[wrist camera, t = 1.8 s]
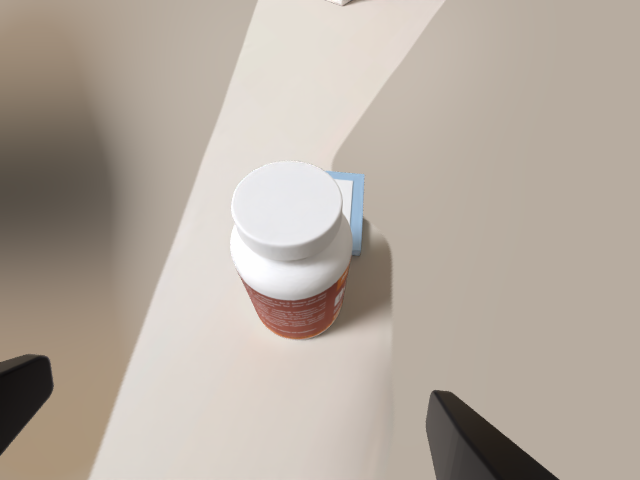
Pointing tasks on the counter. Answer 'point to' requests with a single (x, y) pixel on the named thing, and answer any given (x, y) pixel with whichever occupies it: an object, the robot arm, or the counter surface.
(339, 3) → the medicine bottle
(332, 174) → the coaster
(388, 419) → the counter surface
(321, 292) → the pill bottle
